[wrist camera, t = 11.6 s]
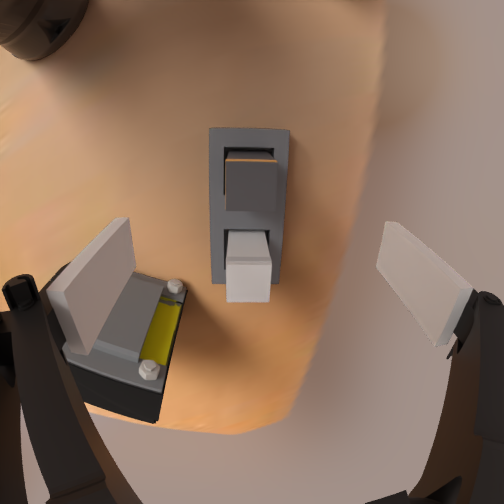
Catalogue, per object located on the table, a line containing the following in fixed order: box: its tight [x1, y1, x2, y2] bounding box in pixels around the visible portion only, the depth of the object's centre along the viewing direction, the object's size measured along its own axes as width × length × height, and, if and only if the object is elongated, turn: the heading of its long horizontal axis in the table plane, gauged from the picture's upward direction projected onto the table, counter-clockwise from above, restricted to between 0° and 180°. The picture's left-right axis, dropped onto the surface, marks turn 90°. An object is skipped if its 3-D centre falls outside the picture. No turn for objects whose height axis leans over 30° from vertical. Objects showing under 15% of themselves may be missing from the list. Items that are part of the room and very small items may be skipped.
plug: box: [225, 150, 278, 212], centre depth 30 cm, size 5×5×11 cm
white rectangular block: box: [226, 229, 272, 302], centre depth 34 cm, size 5×5×11 cm
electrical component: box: [62, 272, 188, 424], centre depth 34 cm, size 18×10×20 cm, turn 71°
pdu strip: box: [209, 128, 290, 284], centre depth 36 cm, size 20×9×4 cm, turn 178°
